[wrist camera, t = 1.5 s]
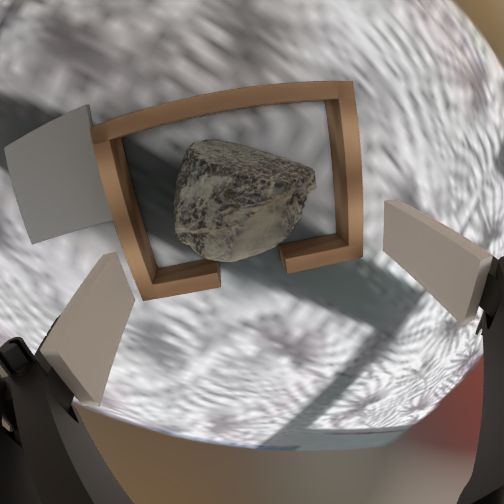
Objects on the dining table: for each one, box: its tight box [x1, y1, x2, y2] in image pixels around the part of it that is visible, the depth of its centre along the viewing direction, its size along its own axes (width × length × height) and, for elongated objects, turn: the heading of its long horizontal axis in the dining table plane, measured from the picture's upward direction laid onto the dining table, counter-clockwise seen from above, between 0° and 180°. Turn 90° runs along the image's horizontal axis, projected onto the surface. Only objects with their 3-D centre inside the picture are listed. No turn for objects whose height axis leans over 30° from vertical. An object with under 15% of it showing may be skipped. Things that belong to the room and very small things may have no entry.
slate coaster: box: [4, 105, 113, 244], centre depth 21 cm, size 11×11×1 cm
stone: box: [173, 140, 316, 262], centre depth 21 cm, size 10×10×10 cm
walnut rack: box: [89, 81, 363, 301], centre depth 23 cm, size 16×21×3 cm
